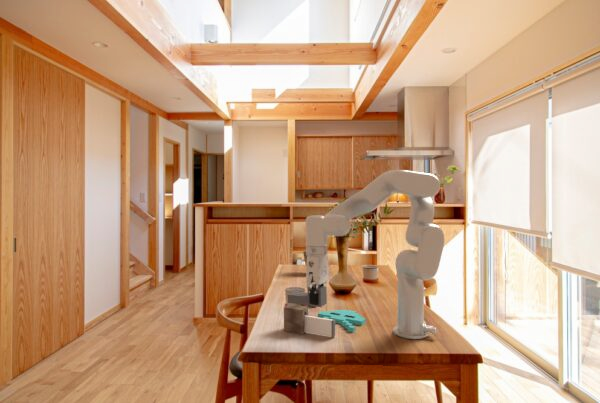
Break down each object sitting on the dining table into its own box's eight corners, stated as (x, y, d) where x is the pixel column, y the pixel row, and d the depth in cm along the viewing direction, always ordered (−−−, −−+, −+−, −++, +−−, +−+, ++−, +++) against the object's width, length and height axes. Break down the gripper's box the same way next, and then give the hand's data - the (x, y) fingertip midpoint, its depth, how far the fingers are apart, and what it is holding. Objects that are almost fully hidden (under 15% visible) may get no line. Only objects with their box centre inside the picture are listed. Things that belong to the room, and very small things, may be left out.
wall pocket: (308, 330, 147) (308, 306, 147) (302, 334, 142) (302, 310, 142) (290, 327, 150) (290, 304, 150) (283, 331, 146) (283, 307, 146)
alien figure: (353, 333, 145) (371, 319, 162) (353, 328, 145) (371, 314, 162) (307, 324, 155) (329, 311, 172) (307, 319, 155) (329, 307, 172)
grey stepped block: (326, 303, 135) (326, 286, 134) (321, 307, 130) (320, 289, 130) (294, 299, 140) (293, 283, 140) (287, 302, 136) (287, 286, 136)
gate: (335, 335, 140) (335, 319, 140) (333, 337, 139) (333, 320, 139) (304, 330, 146) (304, 314, 146) (302, 331, 144) (302, 316, 144)
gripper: (316, 254, 124) (317, 310, 124) (335, 248, 139) (336, 297, 139) (296, 253, 127) (296, 307, 127) (316, 246, 142) (317, 295, 143)
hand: (317, 301), depth 133 cm, fingers closed on grey stepped block, 5 cm apart
